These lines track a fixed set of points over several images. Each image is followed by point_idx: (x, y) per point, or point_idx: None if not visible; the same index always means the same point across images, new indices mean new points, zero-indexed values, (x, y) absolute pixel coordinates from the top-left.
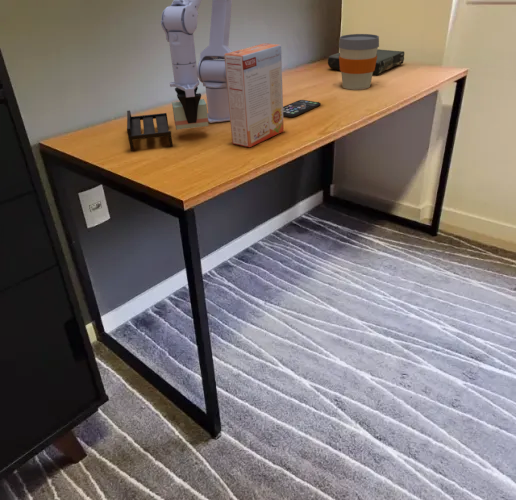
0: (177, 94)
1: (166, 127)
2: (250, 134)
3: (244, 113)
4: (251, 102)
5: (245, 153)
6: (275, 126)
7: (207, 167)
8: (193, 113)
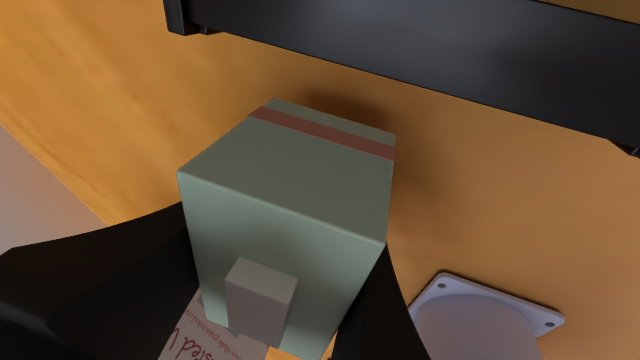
0: (37, 322)
1: (295, 39)
2: None
3: None
4: None
5: (132, 198)
6: None
7: (22, 70)
8: None
